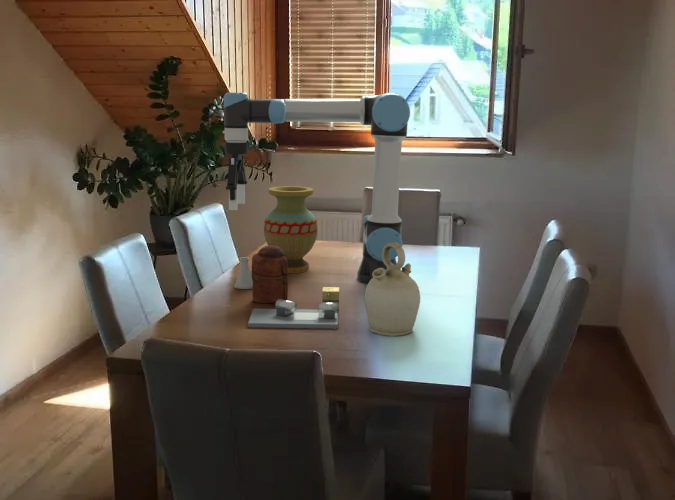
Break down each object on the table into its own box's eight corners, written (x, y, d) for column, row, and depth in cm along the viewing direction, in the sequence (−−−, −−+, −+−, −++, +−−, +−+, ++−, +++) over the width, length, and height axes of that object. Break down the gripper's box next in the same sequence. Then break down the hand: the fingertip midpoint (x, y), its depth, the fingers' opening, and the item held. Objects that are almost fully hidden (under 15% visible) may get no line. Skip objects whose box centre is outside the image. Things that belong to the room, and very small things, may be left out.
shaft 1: (298, 314, 211) (298, 300, 210) (290, 318, 207) (290, 304, 206) (282, 311, 213) (282, 297, 212) (274, 315, 210) (274, 301, 209)
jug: (379, 341, 193) (382, 249, 187) (354, 324, 206) (356, 238, 201) (429, 334, 199) (433, 245, 193) (402, 318, 212) (405, 235, 207)
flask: (251, 290, 240) (251, 261, 238) (230, 289, 241) (230, 259, 239) (258, 285, 247) (258, 256, 245) (237, 283, 248) (237, 255, 246)
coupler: (338, 305, 224) (339, 287, 223) (338, 310, 219) (339, 291, 218) (322, 305, 224) (322, 286, 223) (322, 310, 219) (322, 291, 218)
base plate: (337, 313, 216) (337, 309, 216) (337, 328, 202) (337, 324, 202) (253, 312, 216) (253, 308, 215) (248, 327, 202) (248, 322, 202)
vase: (308, 261, 283) (309, 185, 277) (323, 273, 264) (325, 191, 258) (258, 264, 277) (258, 186, 270) (270, 276, 258) (270, 193, 252)
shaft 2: (318, 318, 207) (318, 304, 206) (318, 314, 211) (318, 300, 210) (337, 319, 207) (337, 305, 206) (337, 314, 211) (337, 300, 210)
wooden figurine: (290, 299, 230) (290, 244, 226) (286, 305, 224) (287, 248, 220) (253, 297, 231) (253, 242, 227) (249, 303, 225) (248, 246, 221)
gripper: (232, 138, 245) (232, 201, 250) (216, 143, 221) (217, 212, 225) (254, 139, 245) (254, 201, 249) (240, 144, 220) (241, 213, 225)
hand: (237, 206), depth 237 cm, fingers open, 13 cm apart
